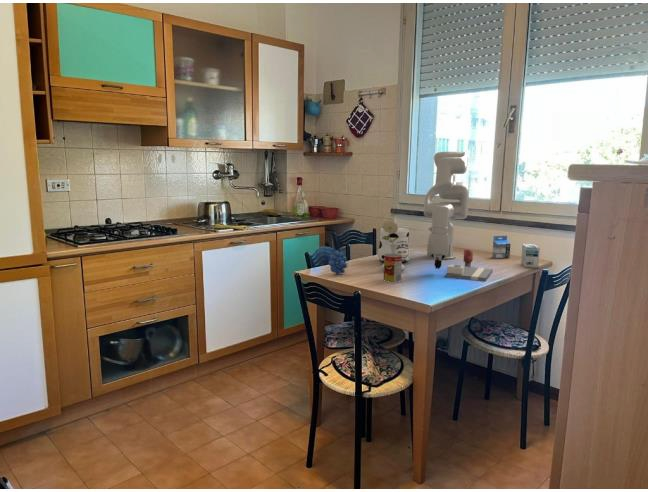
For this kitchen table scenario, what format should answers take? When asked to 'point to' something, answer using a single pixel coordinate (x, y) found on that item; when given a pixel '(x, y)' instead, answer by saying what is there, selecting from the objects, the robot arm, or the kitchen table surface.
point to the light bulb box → (530, 255)
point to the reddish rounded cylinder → (468, 257)
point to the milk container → (402, 240)
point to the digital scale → (472, 273)
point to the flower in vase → (390, 228)
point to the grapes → (338, 262)
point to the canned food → (392, 267)
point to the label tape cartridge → (501, 247)
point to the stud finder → (455, 269)
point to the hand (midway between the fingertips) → (437, 268)
